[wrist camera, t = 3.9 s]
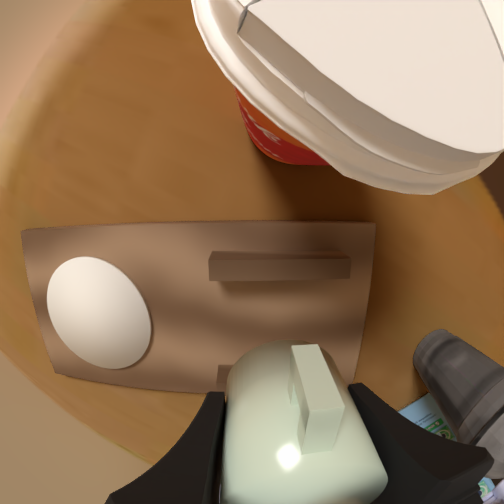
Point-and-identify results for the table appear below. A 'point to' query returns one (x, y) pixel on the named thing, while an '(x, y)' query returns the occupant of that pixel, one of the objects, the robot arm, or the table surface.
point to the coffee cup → (367, 84)
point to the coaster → (99, 312)
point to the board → (217, 292)
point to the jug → (295, 432)
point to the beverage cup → (465, 392)
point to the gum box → (437, 427)
